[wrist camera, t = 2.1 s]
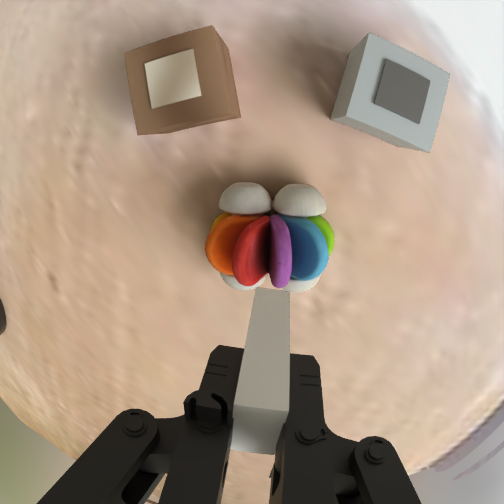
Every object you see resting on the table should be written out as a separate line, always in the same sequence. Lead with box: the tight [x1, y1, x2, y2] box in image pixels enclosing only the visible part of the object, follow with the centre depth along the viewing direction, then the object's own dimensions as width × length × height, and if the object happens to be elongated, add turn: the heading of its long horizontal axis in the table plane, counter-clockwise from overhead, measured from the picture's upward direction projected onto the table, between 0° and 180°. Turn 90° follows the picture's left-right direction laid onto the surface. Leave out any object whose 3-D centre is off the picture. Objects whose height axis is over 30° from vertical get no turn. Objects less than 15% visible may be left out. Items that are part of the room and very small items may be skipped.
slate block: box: [330, 33, 450, 153], centre depth 17 cm, size 6×6×6 cm
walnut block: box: [125, 26, 241, 135], centre depth 18 cm, size 6×6×6 cm
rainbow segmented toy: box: [205, 182, 334, 293], centre depth 22 cm, size 8×10×7 cm
